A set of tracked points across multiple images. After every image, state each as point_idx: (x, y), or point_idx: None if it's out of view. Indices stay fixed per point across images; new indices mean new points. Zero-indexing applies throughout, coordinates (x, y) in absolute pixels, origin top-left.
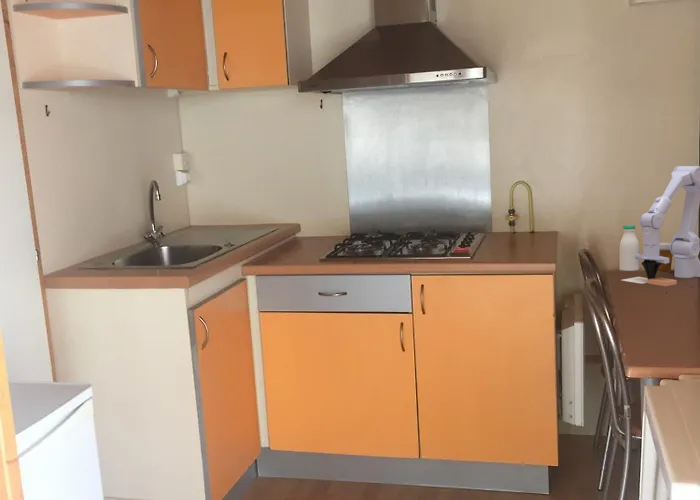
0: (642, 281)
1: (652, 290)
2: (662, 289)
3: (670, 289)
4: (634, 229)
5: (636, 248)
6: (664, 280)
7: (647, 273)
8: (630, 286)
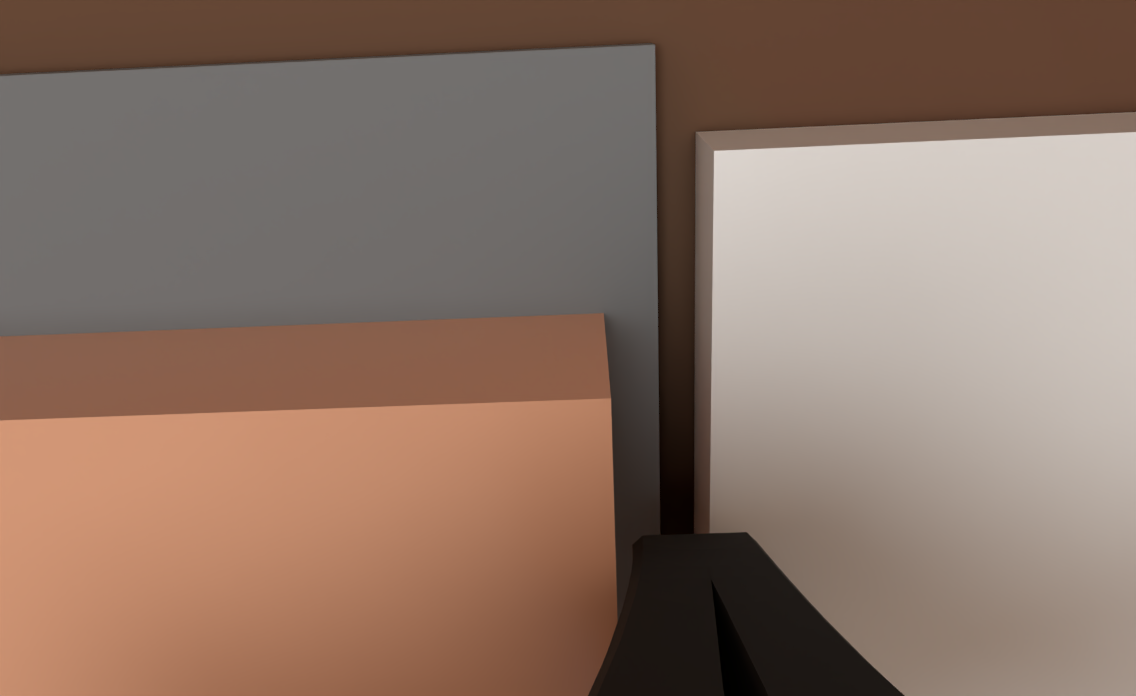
0: (930, 451)
1: (157, 35)
2: None
3: None
4: None
5: None
6: (92, 633)
7: (793, 659)
8: (1073, 12)
